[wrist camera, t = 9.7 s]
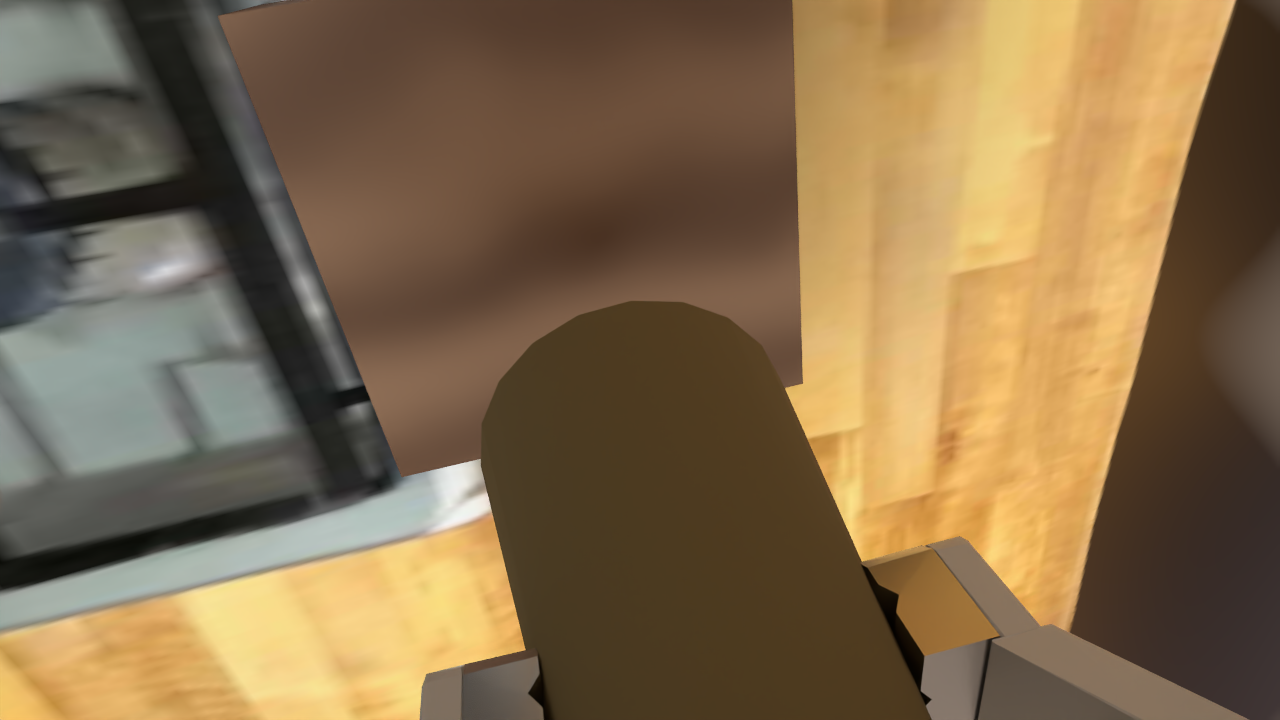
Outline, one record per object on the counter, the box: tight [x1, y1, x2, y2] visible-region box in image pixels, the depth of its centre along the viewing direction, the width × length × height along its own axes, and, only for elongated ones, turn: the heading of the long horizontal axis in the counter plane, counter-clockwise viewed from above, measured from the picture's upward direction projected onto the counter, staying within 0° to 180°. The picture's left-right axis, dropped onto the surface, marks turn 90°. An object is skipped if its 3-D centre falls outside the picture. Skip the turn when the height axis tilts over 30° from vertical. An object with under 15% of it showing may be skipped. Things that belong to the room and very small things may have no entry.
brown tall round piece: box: [481, 301, 932, 720], centre depth 9 cm, size 6×6×11 cm
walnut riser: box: [218, 0, 803, 477], centre depth 26 cm, size 16×16×5 cm
